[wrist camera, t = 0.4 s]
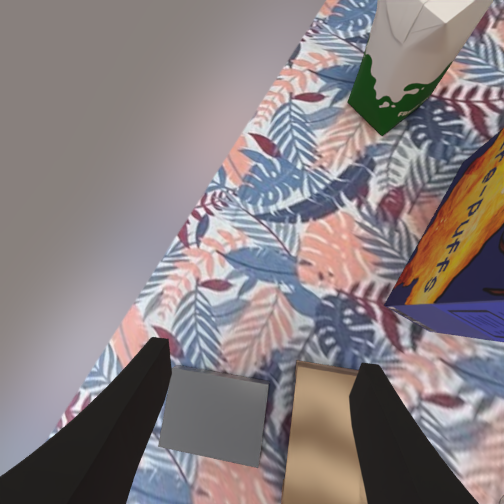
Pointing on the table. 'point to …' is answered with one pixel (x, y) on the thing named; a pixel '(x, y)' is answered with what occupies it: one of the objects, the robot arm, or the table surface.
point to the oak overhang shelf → (322, 439)
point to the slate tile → (215, 415)
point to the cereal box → (461, 255)
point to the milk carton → (410, 55)
